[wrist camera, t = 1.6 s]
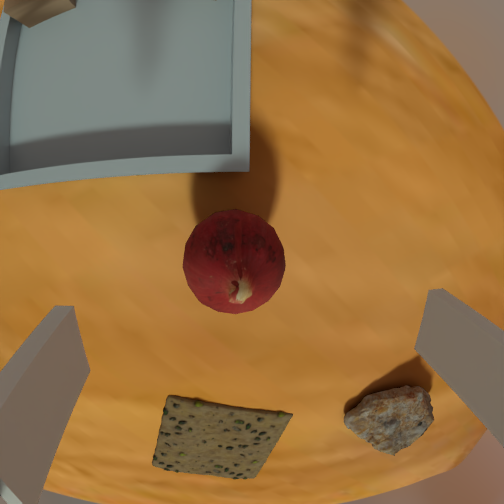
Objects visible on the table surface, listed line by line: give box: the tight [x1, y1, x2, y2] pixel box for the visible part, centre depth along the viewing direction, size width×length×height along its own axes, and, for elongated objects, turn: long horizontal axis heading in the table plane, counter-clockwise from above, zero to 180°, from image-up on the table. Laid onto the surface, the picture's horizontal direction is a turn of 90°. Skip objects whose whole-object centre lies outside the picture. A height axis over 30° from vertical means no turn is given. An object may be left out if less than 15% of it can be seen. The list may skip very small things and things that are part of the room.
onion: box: [183, 209, 286, 314], centre depth 18 cm, size 6×6×8 cm
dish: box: [0, 0, 251, 190], centre depth 16 cm, size 18×18×2 cm
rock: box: [344, 385, 434, 456], centre depth 27 cm, size 9×6×10 cm
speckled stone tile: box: [152, 395, 293, 479], centre depth 28 cm, size 12×12×1 cm
